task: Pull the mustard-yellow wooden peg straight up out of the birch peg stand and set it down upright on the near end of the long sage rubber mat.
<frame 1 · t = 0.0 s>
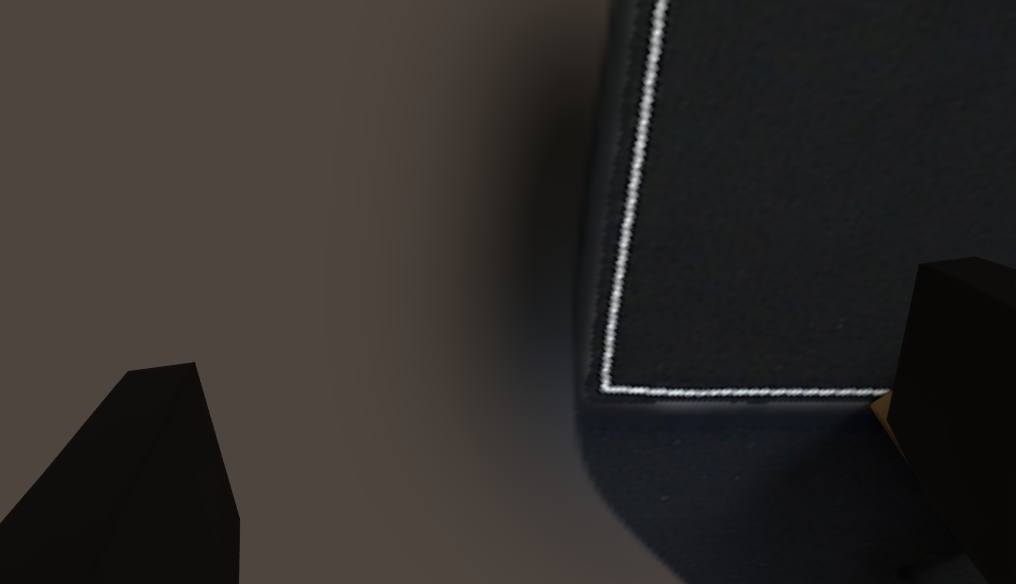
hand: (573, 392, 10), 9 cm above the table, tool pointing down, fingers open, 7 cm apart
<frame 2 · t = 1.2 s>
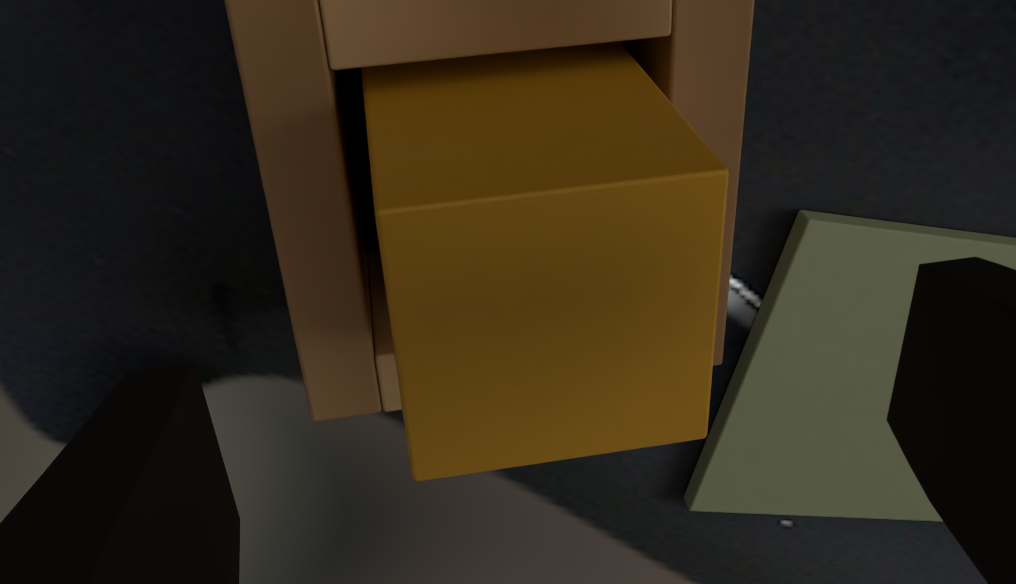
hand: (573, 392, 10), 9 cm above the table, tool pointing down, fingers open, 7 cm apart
stand: (481, 122, 17), on the table
peg: (512, 208, 14), in the stand
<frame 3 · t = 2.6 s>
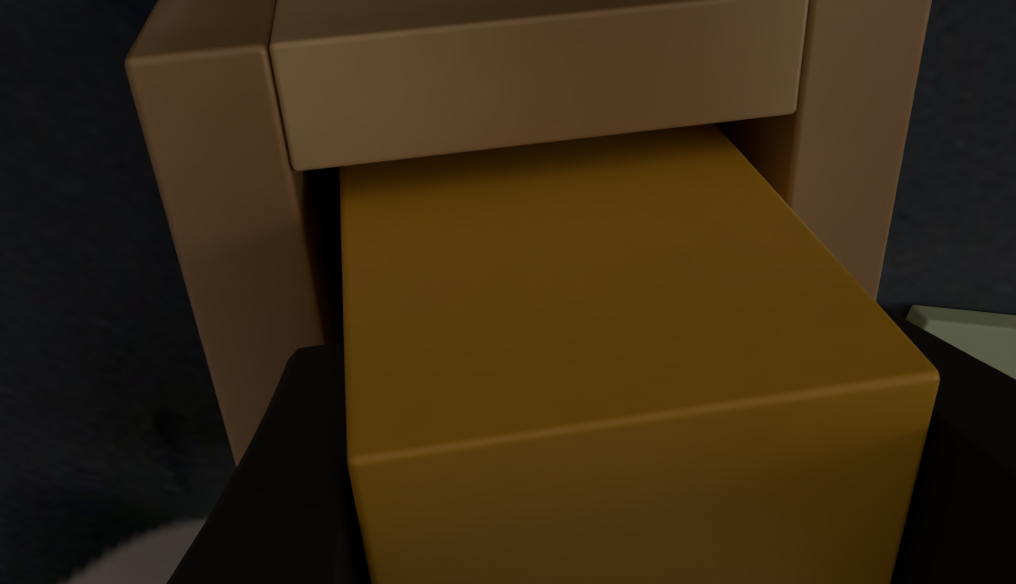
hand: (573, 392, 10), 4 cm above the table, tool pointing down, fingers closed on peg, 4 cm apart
stand: (506, 205, 13), on the table
peg: (555, 352, 10), in the stand, touching gripper
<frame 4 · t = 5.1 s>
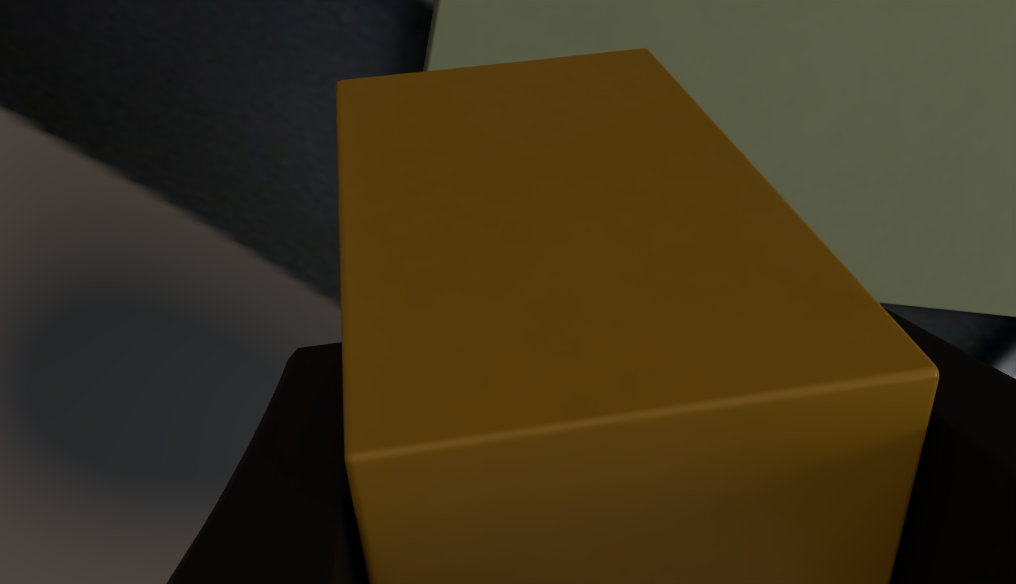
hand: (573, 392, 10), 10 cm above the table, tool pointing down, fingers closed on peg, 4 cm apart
peg: (554, 350, 10), point 10 cm above the table, touching gripper
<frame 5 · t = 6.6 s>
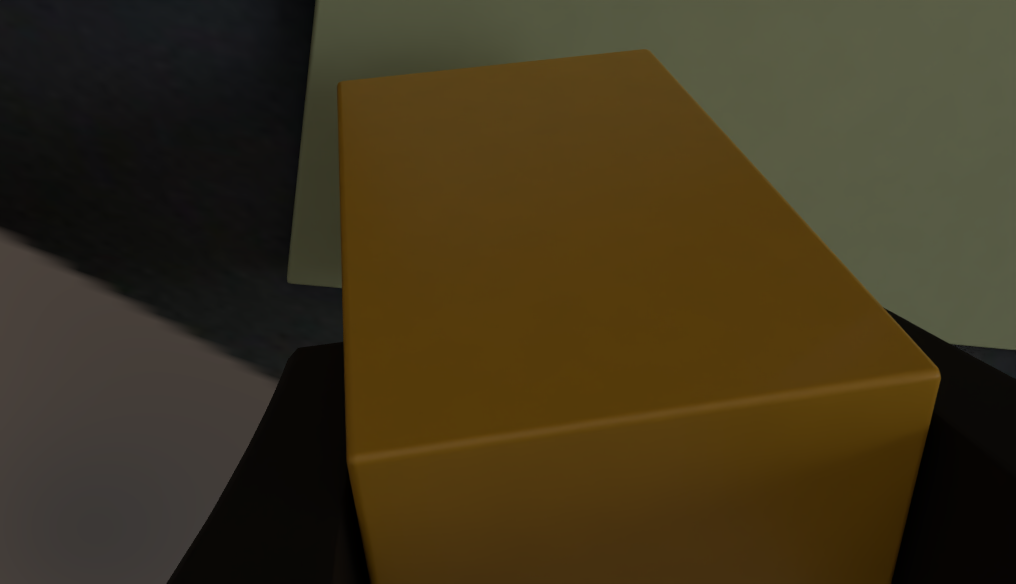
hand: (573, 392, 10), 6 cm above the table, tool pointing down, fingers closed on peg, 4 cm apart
peg: (555, 351, 10), point 6 cm above the table, touching gripper
when the fingers open (5 cm above the table, at t = 7.5 s): peg stays where it is, resting on mat.
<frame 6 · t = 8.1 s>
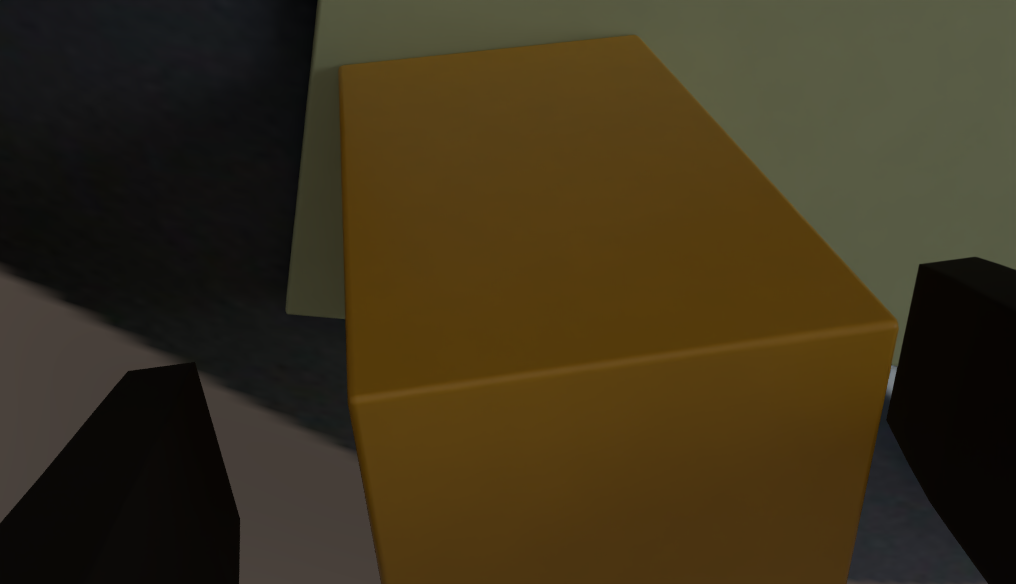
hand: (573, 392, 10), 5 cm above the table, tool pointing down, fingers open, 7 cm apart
peg: (546, 320, 11), on the mat
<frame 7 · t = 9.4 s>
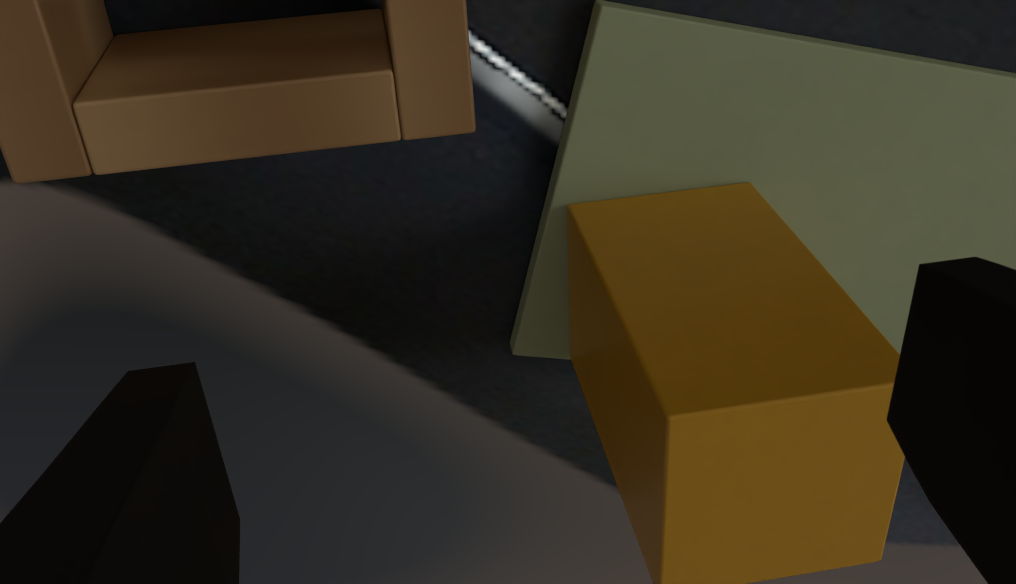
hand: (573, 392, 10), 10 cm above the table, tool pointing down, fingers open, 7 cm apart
peg: (709, 366, 18), on the mat
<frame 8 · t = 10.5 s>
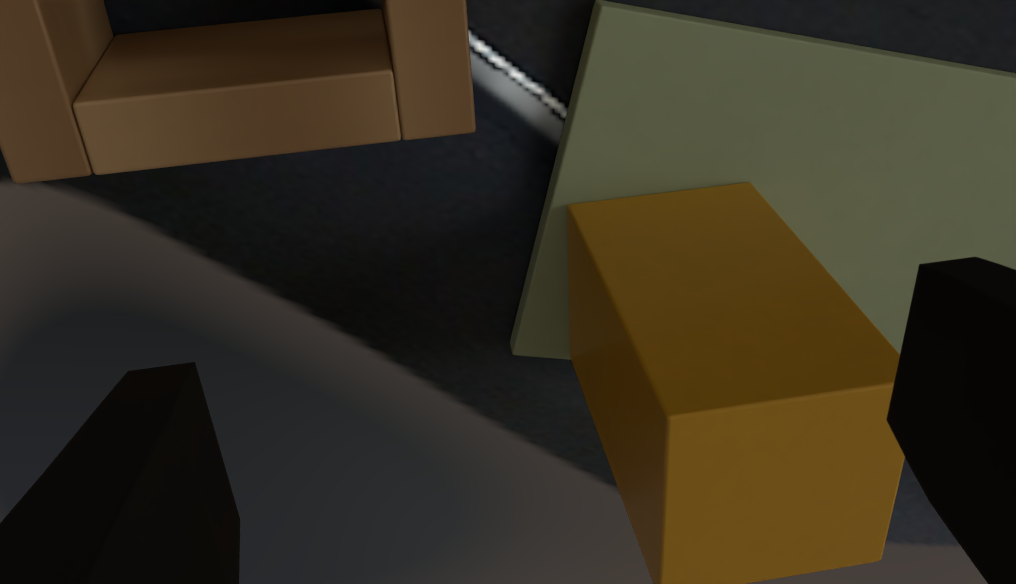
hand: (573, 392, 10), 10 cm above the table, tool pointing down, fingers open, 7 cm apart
peg: (709, 366, 18), on the mat
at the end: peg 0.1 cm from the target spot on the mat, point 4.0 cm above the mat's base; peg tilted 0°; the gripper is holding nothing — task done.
